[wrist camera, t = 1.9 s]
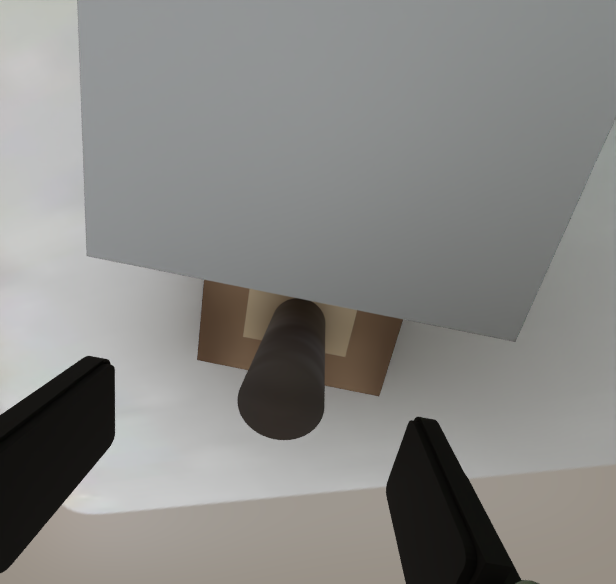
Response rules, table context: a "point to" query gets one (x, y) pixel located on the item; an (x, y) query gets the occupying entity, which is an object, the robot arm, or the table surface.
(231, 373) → the table surface
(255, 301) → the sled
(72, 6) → the table surface
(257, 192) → the tunnel
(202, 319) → the track board
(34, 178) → the table surface
